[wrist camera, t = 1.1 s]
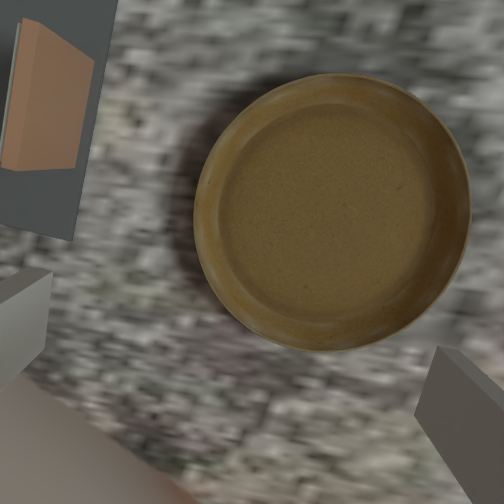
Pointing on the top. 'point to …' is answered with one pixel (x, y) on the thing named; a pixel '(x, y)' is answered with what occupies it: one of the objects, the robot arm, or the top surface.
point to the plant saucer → (332, 212)
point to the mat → (71, 180)
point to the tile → (44, 101)
